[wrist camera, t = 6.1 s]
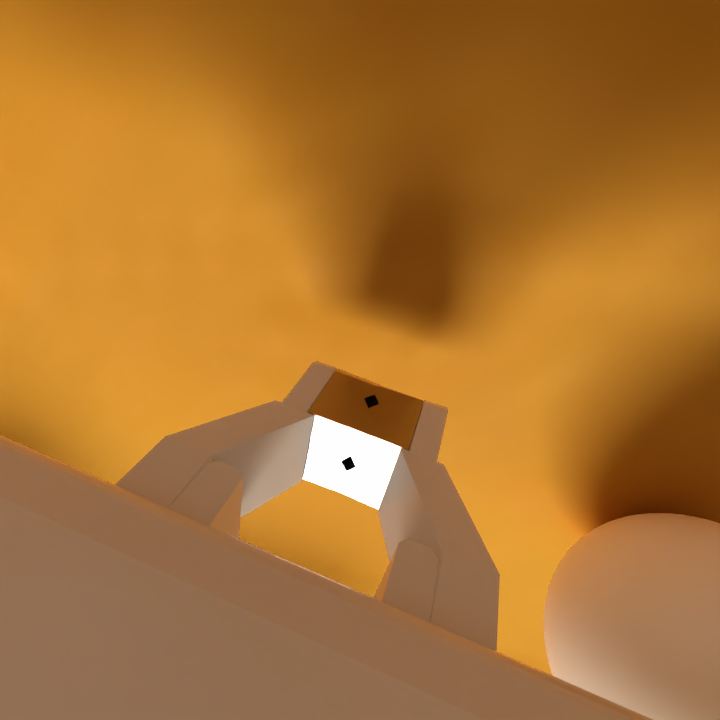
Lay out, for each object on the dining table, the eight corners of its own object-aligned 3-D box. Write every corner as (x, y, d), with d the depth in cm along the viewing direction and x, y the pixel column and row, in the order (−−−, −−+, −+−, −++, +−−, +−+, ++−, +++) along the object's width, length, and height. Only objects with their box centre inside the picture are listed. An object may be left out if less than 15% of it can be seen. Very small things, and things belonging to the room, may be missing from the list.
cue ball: (1087, 1048, 5) (978, 572, 7) (676, 910, 5) (685, 463, 7) (693, 790, 10) (695, 551, 12) (481, 715, 10) (519, 487, 12)
